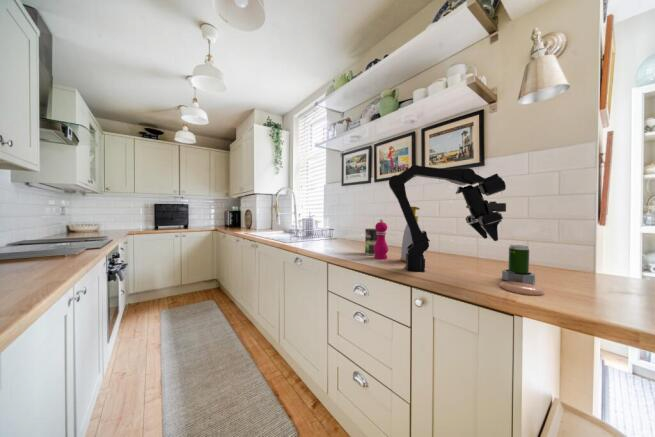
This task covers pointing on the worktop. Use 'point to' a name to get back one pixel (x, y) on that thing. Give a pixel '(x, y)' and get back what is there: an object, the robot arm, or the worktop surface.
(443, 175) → the robot arm
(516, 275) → the collar
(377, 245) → the pepper mill
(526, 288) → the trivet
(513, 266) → the beer can
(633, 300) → the worktop surface
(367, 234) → the coffee can
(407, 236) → the soap bottle
